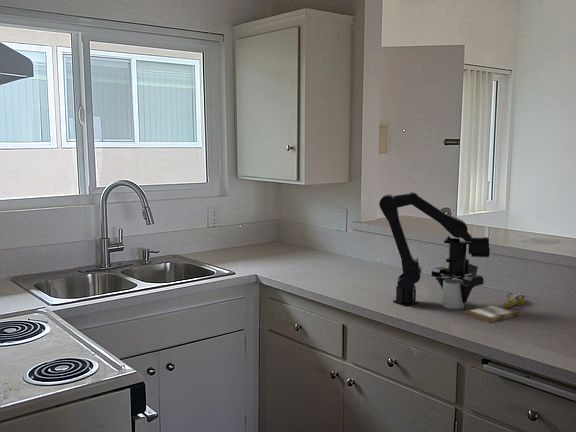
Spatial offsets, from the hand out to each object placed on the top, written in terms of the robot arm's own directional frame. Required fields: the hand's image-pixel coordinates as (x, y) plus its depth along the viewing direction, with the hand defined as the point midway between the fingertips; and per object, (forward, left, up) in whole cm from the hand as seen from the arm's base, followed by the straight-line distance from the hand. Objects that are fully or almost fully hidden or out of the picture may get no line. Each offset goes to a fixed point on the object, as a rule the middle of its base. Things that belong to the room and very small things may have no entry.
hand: (455, 300), depth 199 cm
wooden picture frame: (+2, -13, -2) cm, 14 cm away
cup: (0, +1, -2) cm, 2 cm away
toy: (+20, -9, -3) cm, 22 cm away
